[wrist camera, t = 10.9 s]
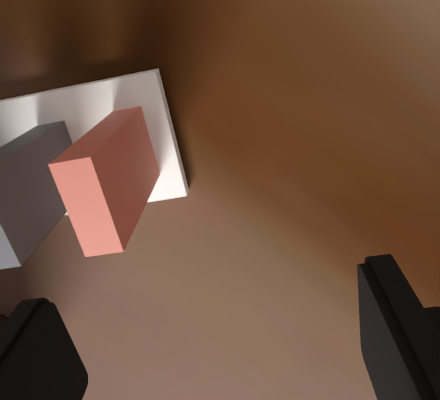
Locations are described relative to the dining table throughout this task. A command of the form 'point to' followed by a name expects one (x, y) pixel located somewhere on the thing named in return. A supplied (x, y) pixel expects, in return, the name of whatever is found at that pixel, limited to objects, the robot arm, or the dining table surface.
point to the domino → (29, 191)
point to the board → (96, 111)
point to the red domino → (107, 180)
